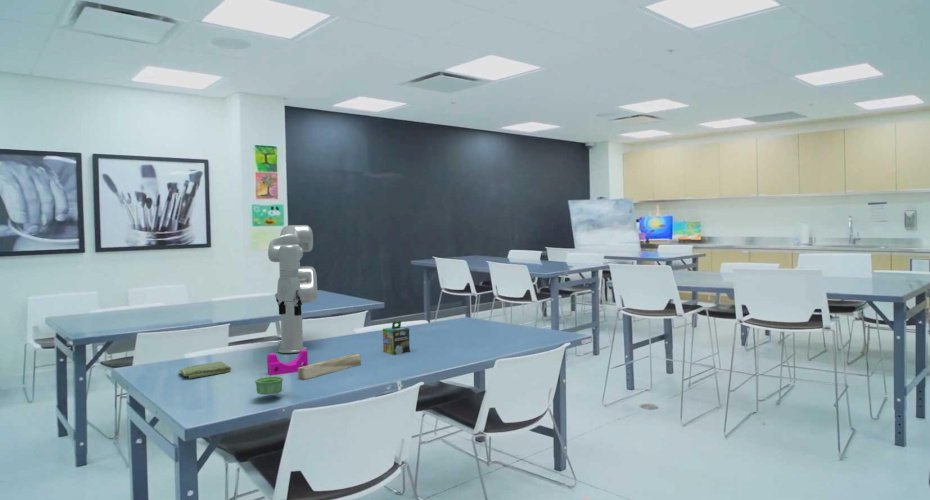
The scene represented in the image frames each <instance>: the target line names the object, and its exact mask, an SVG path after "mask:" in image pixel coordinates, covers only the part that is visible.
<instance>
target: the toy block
mask: <svg viewBox="0 0 930 500" xmlns="http://www.w3.org/2000/svg"><path fill="white" fill-rule="evenodd" d="M308 359H309V358H308V350H307V349H306V350H300V352H298V355H297V357H296V358H295V359H294V360H292V361H291V362H287V363H286V362H281V361H280V360H279V359H278V357H277V354H276V353H274V352H273V353H267V354H266V362H267V364H266V365H267V374H269V375H270V376H276V375H277V376H278V375H283V374H292V373H298V368H300V367H304V366H308V365H309V361H308Z"/></svg>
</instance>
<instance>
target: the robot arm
mask: <svg viewBox="0 0 930 500" xmlns="http://www.w3.org/2000/svg"><path fill="white" fill-rule="evenodd" d="M313 246H314V233H313V230H312V228H311V227H310V226H309V225H307V224H301V225H300V224H297V225H296V224H292V225H291V224H290V225H286V226H284V227H282V229H281V230H280V236H278V237H275V238H274V239H272V240H270V242H269V245H268V249H267V250H268V251H267V256H268V259H269V260H270V262H272V263H278V265H279V277H278V278H277V279H278V280H277V291H276V294H274V296H275V299H276V300H275V301H276V302H277V306H278V315H280V331H281V332H280V333H281V334H280V335H281V339H280V341H279V342H277V346H279V348H278V349H277V351H278V353H281V354H294V353H295V354H297V353H300V350H306V351H307V347H306V346H304V337H303V335H304V333H303V332H304V331H303V329H304V327H303V312H302V307H303V303H304V304H305V303H314V302H316V301H317V299H318V279H317V278H318V277H317V272H316V268H314V267H313V266H309V265H306V266H305V265H304V266H303V265H302V266H301V262H300V260H301V259H302V258H303V256H304V253H309V252H311V251H312V250H313V248H314V247H313Z"/></svg>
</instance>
